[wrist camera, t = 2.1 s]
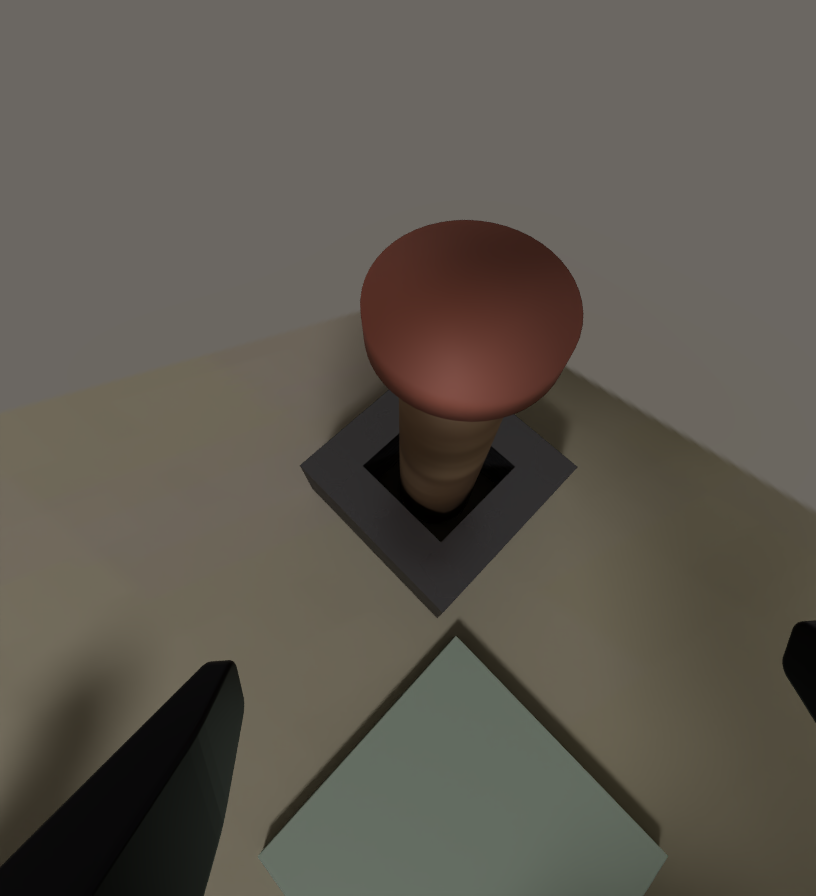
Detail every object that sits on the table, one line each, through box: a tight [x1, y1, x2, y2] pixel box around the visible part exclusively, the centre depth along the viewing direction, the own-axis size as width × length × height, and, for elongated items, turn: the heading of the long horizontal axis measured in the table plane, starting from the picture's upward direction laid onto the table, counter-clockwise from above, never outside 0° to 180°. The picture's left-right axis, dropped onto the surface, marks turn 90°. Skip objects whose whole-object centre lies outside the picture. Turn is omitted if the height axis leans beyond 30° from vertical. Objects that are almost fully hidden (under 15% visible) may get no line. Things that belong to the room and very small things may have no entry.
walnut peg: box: [360, 220, 583, 523], centre depth 16 cm, size 5×5×13 cm
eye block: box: [300, 390, 577, 618], centre depth 21 cm, size 8×8×3 cm
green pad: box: [258, 636, 668, 896], centre depth 17 cm, size 10×10×1 cm
